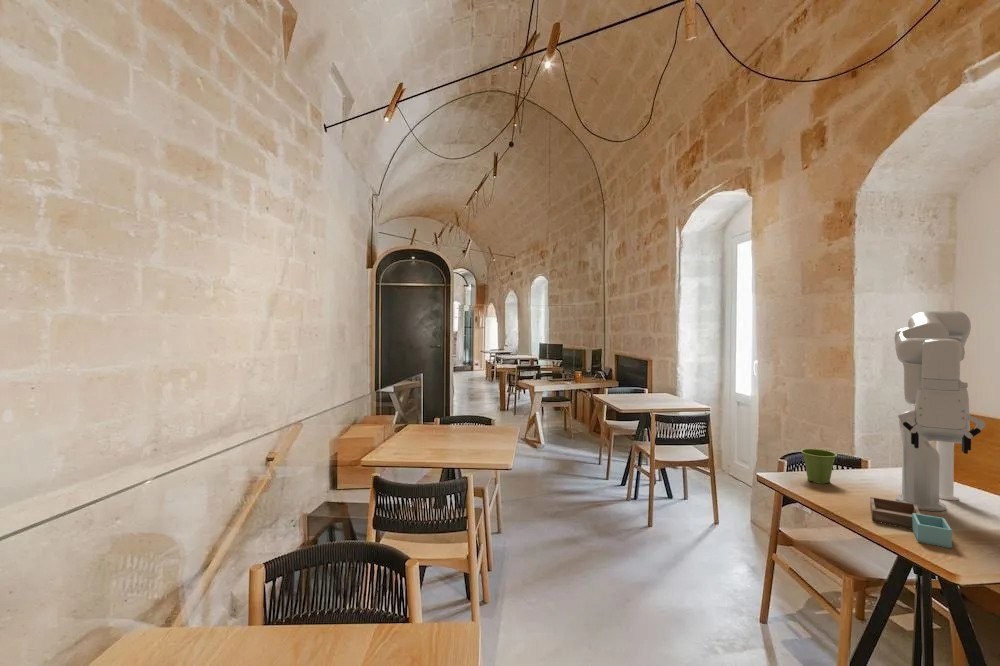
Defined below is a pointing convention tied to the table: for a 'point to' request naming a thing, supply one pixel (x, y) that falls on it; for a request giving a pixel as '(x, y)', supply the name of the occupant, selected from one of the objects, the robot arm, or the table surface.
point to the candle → (946, 470)
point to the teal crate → (932, 530)
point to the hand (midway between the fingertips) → (939, 449)
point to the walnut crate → (892, 512)
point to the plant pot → (818, 464)
